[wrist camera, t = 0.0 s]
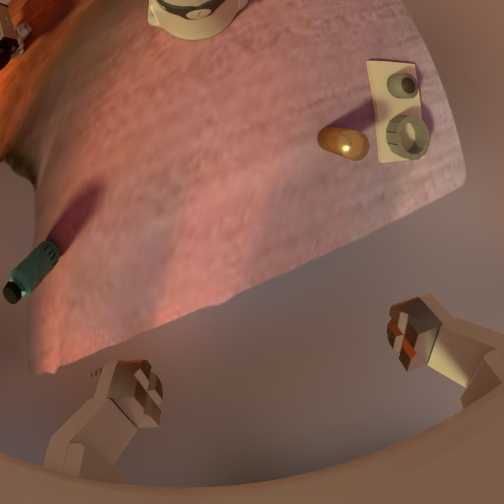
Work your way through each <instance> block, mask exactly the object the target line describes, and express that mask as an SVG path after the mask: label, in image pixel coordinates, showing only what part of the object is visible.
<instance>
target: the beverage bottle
mask: <svg viewBox="0 0 504 504" xmlns="http://www.w3.org/2000/svg"><path fill="white" fill-rule="evenodd" d="M59 257H60V255H59V250H58V248H57V247H56V245H55V244H54V243H52V242H50V241H44V242H41V244H40V245H39V246H38V247H36V248H35V249H34V250H33V251H32V252H31V253H30V254H29V255H28V256H27V257H26V258H25V259H24V260H23V261H22V262H21V263H20V264H19V265H18V266H17V267H16V268H15V269H14V270H12V271H11V273H10V275H9V280H10V281H9V282H8V283H7V284H6V286H5V287H4V288H3V295H4V297H5V299H6V300H7V301H8V302H9V303H11V304H16V303H17V302H18V301H19V300H20V299H21V297H28V296H30V295H31V293H32V292H33V290H34V289H35V288H37V287H38V286H39V283H41V281H43V279H44V277H46V275H47V274H48V273H49V272H50V271H51V269H52V268H53V267H54V266H56V263H57V262H58V260H59Z"/></svg>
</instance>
